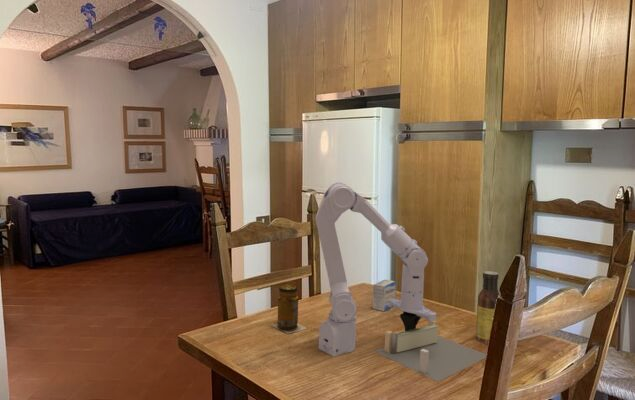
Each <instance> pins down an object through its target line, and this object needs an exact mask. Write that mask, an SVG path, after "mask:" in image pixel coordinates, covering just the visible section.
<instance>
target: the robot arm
mask: <svg viewBox="0 0 635 400" xmlns="http://www.w3.org/2000/svg"><path fill="white" fill-rule="evenodd" d="M322 195H323V196H322V199H321V202H320V204H319V207H318V210H317V212H316V215H315V223H316V228H317V234H318V236H319V237H318V238H319V240H320V245H321V250H322V255H323V260H324V265H325V269H326V273H327V277H328V278H327V279H328V283H329V288H330V294H329V298H328V300H329V304H330V307H331V310H329V313H328V317H327V319H326V320H324V321H322V322H321V323H320V325H319V328H318V349H319V350H320V351H322V352H324V353H326V354H328V355H330V356H332V357H336V356H339V355H341V354H347V353H351V352H353V351H355V349H356V333H357V330H356V329H357V328H356V327H357V312H358V306H357V304H356V302H355V300H354V298H353V294H352V293H351V291H350V288H349V285H348V281H347V276H346V271H345V267H344V262H343V256H342V252H341V248H340V243H339V238H338V235H337V230H336V225H335V223H336V222H337V221H338V220H339V218H340V217H341V216H342V214H344V213H345V212H346V211H348V210H350V211H351V212H353V213H358V214H361V215H362V216H363V217H364V218H365V219H366V220H368V221H369V223H370V224H372V225H373V226H374V227H375V228H376V229H377V230H378V231H379V232H380V235H381V236H380V238H381V241H382V242H383V243H384V244H385V245H386V246H387V247H388V248H389V249H390V250H391V251H392V252H393V253H395V254H394V255H396V256H397V257H399V258H400V261H403V263H402V271H401V287H400V288H401V289H400V299H397V298H395V299H394V298H393V299H389V302H388V306H389V307H391V308H395V309H398V310H400V311H403V312H402V313H401V314H400V315H399V318H400V320H401V321H402V323H403V326H404V331H408V330H413V329H417V325H418V323H419V321H420V320H421V318H422V319H425V320H428V321H430V322H433V321H436V322H437V312H434V311H432V310H430V309H428V308H427V307H425V306H424V287H425V286H424V283H425V268H426V266H427V265H428V263H429V258H428V256H427V253H426V251H425V250H424V249H423V248H422V247H420V246H419V245H418V241H417V240H416V239H412V238H411V236H409V235H408V233H406V232H405V230H406V228H405V227H404V226H402V225H398V223H397V224H396V223H392V224H391V223H389V222H388V221H387V220H386V218H385V217H383V216H382V215H381V214H380V212H379V211H378V210H377V209H376V208H375V207H374V206H373V205H372V204H371V203H370V202H369V201H368V200H367V199H366V198H365V197H364V196H362V195H361V194H360V193H358V192H356V191H354V189H353V188H351V187H350V186H348V185H346V184H345V183H343V182H335V183H332V184H331V185H330V186H329V187H328V188H327V189H326V191H324V193H323V194H322ZM428 321H427V322H428Z"/></svg>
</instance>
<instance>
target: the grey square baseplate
mask: <svg viewBox="0 0 635 400" xmlns="http://www.w3.org/2000/svg"><path fill="white" fill-rule="evenodd" d="M434 324H435V325H437V320H436V321H433V322H430V321H427V326H430V325H434ZM392 334H394V331H391V330H386V331H385V332H384V347H381V348H378V349H376V350H374V352H375V353H376V354H378V355H381V356H383V357H385V358H387V359H389V360H391V361H393V362H396V363H398V364H400V365H401V366H404V367H406V368H408V369H410V370H412V371H414V372H417V373H418V374H421V375H423V376H426V377H427V378H429V379H431V380H433V381H435V382H437V383H438V382H441V381H442V380H444V379H446V378H448V377H450V376H453V375H454V374H456V373H458V372H460V371H463V370H464V369H467V368H468V367H470V366H473V365H475V364H477V363H478V362H481V361H483V360H484V359H486V354H487V353H485V352H481V351H478V350H476V349H474V348H471V347H469V346H467V345H466V346H465V345H464V344H460V343H458V342H455V341H453V340H451V339H448V338H445V337H443V336H440V335H438V339H437V342H436V343H432V344H428V345H424V346H421V347H417V348H413V349H409V350H405V351H401V352H396V351H395V353H392V352H391V348H392Z"/></svg>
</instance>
